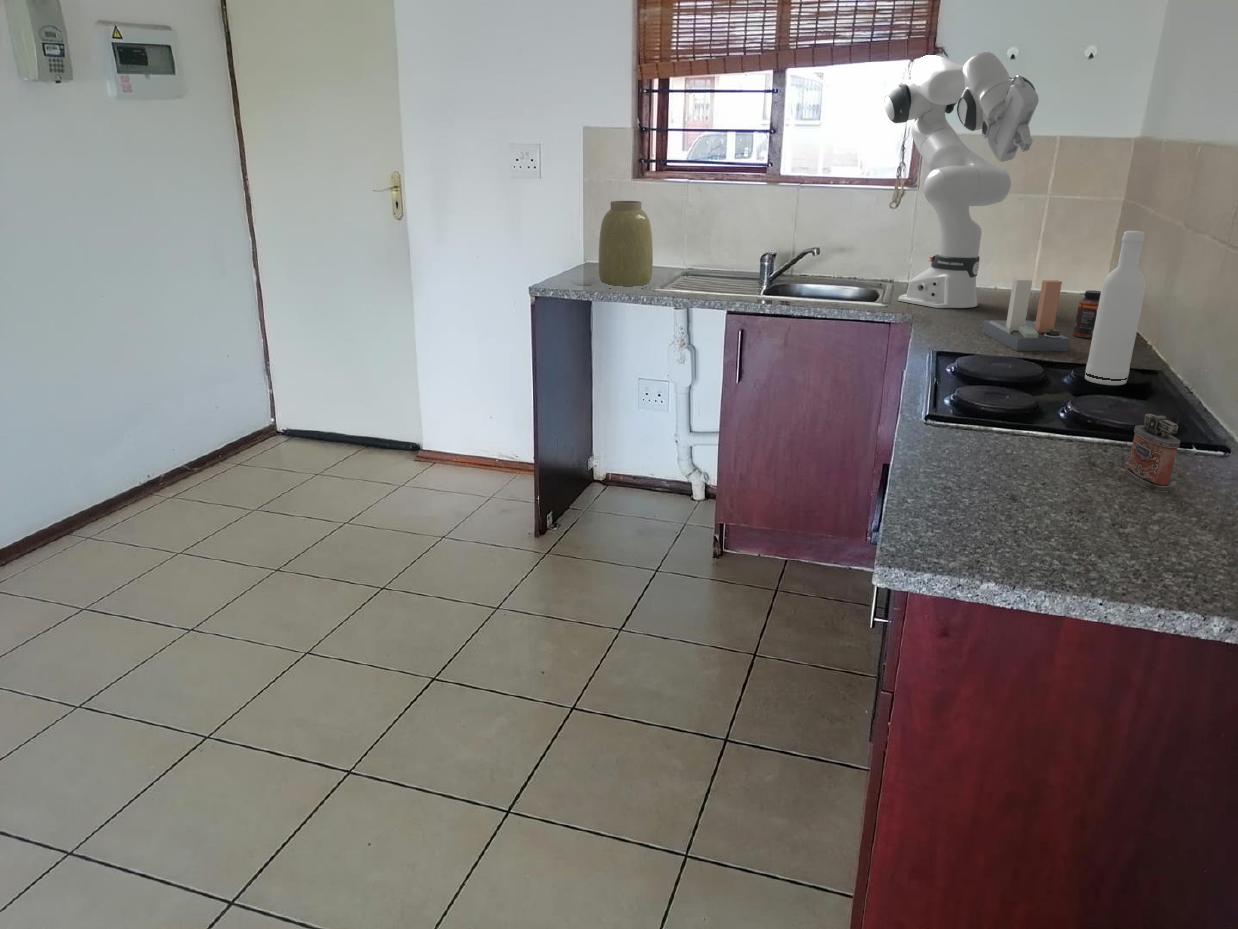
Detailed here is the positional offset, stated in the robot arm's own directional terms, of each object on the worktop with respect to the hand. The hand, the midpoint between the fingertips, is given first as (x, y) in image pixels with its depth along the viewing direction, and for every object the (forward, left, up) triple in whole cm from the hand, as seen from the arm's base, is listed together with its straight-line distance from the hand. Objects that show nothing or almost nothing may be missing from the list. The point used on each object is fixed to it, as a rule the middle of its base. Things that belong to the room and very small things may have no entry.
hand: (1027, 146), depth 214 cm
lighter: (+59, -87, -45) cm, 114 cm away
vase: (-113, -20, -45) cm, 124 cm away
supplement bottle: (+17, +12, -45) cm, 50 cm away
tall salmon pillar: (+12, -5, -41) cm, 44 cm away
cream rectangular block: (+7, -8, -41) cm, 43 cm away
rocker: (+12, -13, -42) cm, 45 cm away
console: (+8, -5, -45) cm, 46 cm away
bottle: (+35, -30, -45) cm, 64 cm away
